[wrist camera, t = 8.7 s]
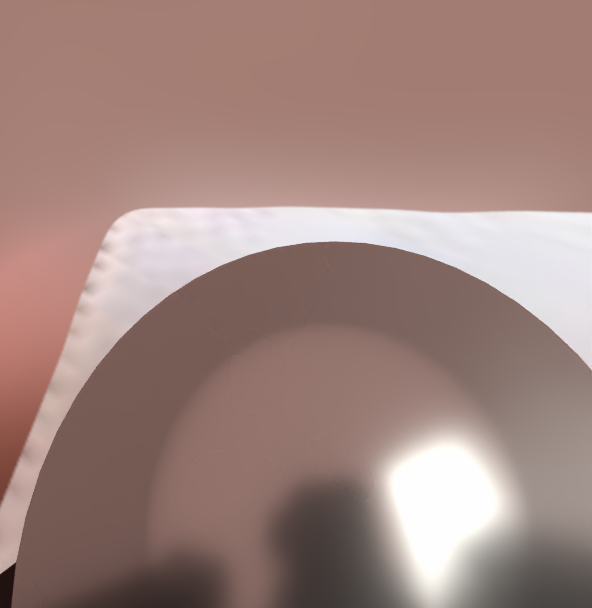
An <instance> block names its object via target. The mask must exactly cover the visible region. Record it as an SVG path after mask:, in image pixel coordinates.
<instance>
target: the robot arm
mask: <svg viewBox="0 0 592 608" xmlns="http://www.w3.org/2000/svg"><path fill="white" fill-rule="evenodd" d="M15 568H16V563H14V564H13V565H12V566H10V567H9V568H8V569H7V570H5V571H4V572H3V573H1V574H0V608H11V605H12V596H13V587H14V578H15Z"/></svg>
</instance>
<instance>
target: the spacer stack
mask: <svg viewBox="0 0 592 608" xmlns="http://www.w3.org/2000/svg"><path fill="white" fill-rule="evenodd" d="M11 608H592V371H591V369H590V368H589V367H588V366H587V365H586V364H585V362H584V361H583V360H582V359H581V358H580V357H579V355H578V354H576V353H575V352H574V351H573V350H572V349H571V348H570V347H569V346H568V345H567V344H566V343H565V342H564V341H563V340H562V339H561V338H560V337H559V336H558V335H557V334H555V333H554V332H553V331H552V330H551V329H550V328H549V327H548V326H547V325H546V324H544V323H543V322H542V321H540V320H539V319H538V318H537V317H535V316H534V315H533V314H531V313H530V312H529V311H528V310H526V309H525V308H524V307H522V306H521V305H520V304H519V303H517V302H516V301H514V300H513V299H511V298H509V297H508V296H506V295H505V294H503V293H501V292H500V291H498V290H497V289H495V288H494V287H492V286H490V285H489V284H487V283H485V282H483V281H481V280H479V279H477V278H475V277H473V276H471V275H469V274H467V273H465V272H463V271H461V270H459V269H457V268H455V267H453V266H450V265H447V264H445V263H442V262H439V261H437V260H434V259H431V258H429V257H426V256H423V255H419V254H415V253H412V252H408V251H404V250H400V249H397V248H392V247H386V246H379V245H373V244H367V243H352V242H316V243H303V244H296V245H290V246H284V247H277V248H273V249H270V250H266V251H262V252H258V253H255V254H251V255H248V256H245V257H243V258H240V259H237V260H235V261H232V262H229V263H227V264H224V265H222V266H220V267H218V268H216V269H214V270H212V271H210V272H208V273H206V274H204V275H202V276H200V277H198V278H196V279H194V280H193V281H191V282H189V283H188V284H186V285H185V286H183V287H182V288H180V289H179V290H177V291H175V292H174V293H172V294H171V295H169V296H168V297H167V298H165V299H164V300H163V301H162V302H160V303H159V304H158V305H157V306H155V307H154V308H153V309H152V310H150V311H149V312H148V313H147V314H145V315H144V316H143V317H142V318H141V319H140V320H139V321H138V322H137V323H136V324H135V325H134V326H133V327H132V328H131V329H130V330H129V331H128V332H127V333H126V334H125V335H124V336H123V337H122V338H121V339H120V340H119V341H118V342H117V343H116V344H115V346H114V347H113V348H112V349H111V350H110V352H109V353H108V354H107V355H106V356H105V358H104V359H103V360H102V361H101V362H100V363H99V365H98V366H97V367H96V369H95V370H94V372H93V373H92V375H91V376H90V378H89V379H88V380H87V382H86V383H85V385H84V386H83V388H82V389H81V391H80V392H79V394H78V395H77V397H76V398H75V400H74V402H73V404H72V406H71V407H70V409H69V411H68V413H67V415H66V417H65V418H64V420H63V422H62V424H61V426H60V427H59V429H58V431H57V433H56V436H55V438H54V440H53V443H52V445H51V447H50V450H49V452H48V454H47V457H46V459H45V461H44V464H43V466H42V468H41V471H40V474H39V477H38V480H37V483H36V486H35V489H34V492H33V496H32V499H31V502H30V505H29V508H28V511H27V515H26V519H25V524H24V528H23V533H22V538H21V543H20V547H19V552H18V557H17V561H16V568H15V578H14V587H13V596H12V605H11Z"/></svg>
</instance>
